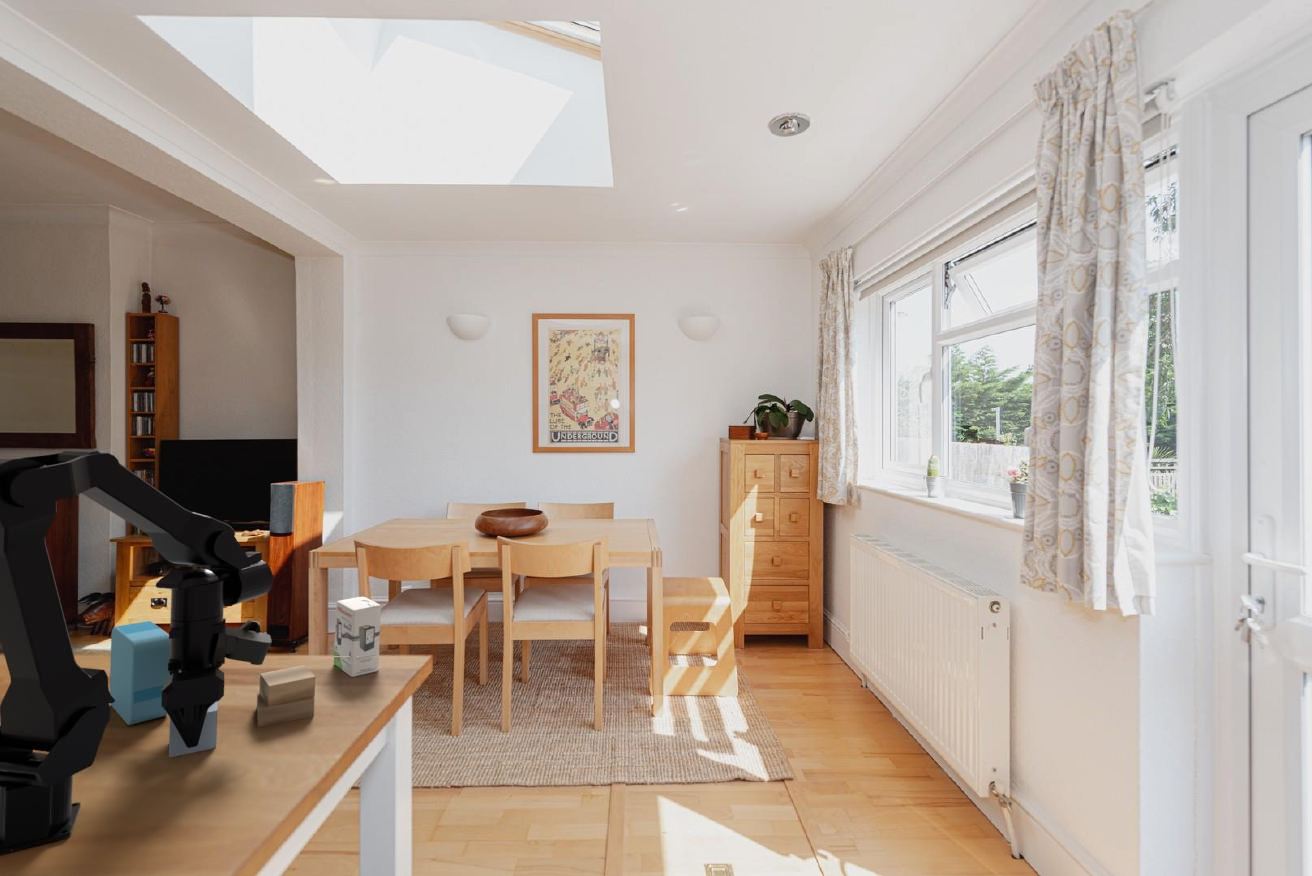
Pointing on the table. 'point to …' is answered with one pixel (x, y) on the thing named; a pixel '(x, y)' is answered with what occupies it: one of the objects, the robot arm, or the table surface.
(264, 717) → the lower slab
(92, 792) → the table surface
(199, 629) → the robot arm
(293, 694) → the upper slab
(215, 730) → the blue cube
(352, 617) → the ink box
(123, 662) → the data package
